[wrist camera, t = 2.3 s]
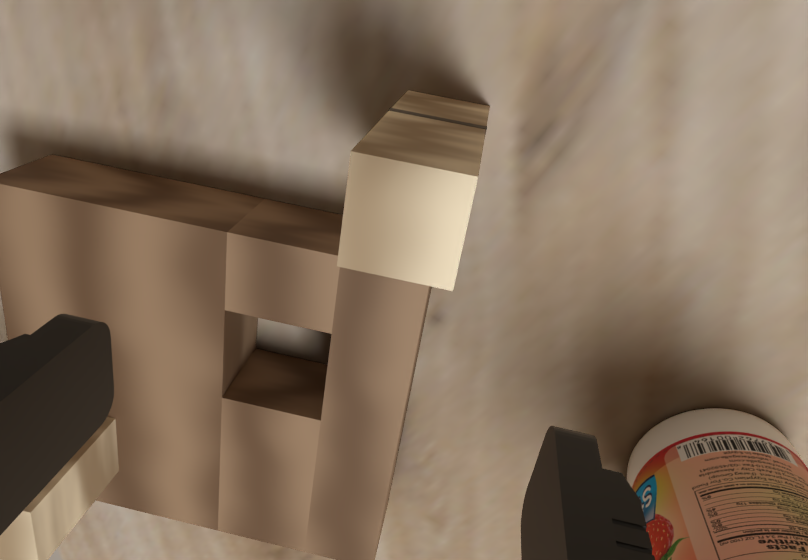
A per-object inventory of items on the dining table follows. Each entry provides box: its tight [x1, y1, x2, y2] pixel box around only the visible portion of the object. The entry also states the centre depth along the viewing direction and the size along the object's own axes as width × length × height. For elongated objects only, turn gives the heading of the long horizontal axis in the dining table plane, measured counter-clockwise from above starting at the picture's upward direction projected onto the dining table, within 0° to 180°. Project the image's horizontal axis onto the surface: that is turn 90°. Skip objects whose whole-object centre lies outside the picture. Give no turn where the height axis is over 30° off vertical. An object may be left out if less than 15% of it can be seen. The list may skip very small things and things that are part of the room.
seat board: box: [0, 154, 432, 560], centre depth 33 cm, size 22×20×12 cm
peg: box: [337, 90, 490, 291], centre depth 25 cm, size 4×4×12 cm
